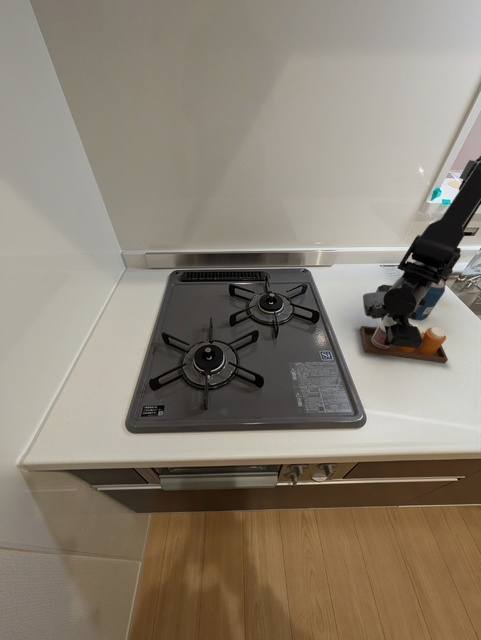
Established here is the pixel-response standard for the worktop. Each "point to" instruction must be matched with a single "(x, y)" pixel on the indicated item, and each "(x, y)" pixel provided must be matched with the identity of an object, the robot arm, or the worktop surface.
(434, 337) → the amber bottle back
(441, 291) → the soda can
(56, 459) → the worktop surface
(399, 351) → the tray
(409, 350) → the amber bottle middle
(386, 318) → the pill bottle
